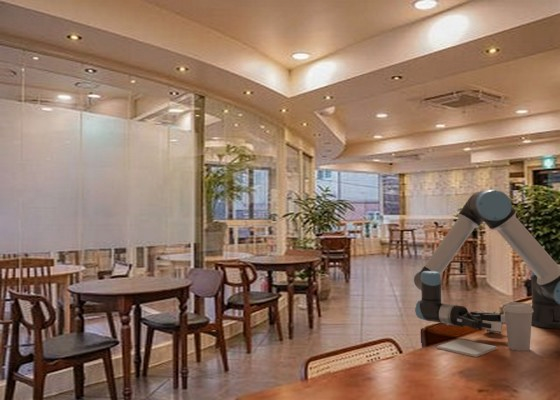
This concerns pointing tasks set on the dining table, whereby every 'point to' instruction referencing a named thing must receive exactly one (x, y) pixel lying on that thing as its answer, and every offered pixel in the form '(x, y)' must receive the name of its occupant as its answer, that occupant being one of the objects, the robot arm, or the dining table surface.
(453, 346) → the mat
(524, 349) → the coffee cup
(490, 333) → the game die
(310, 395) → the dining table surface
